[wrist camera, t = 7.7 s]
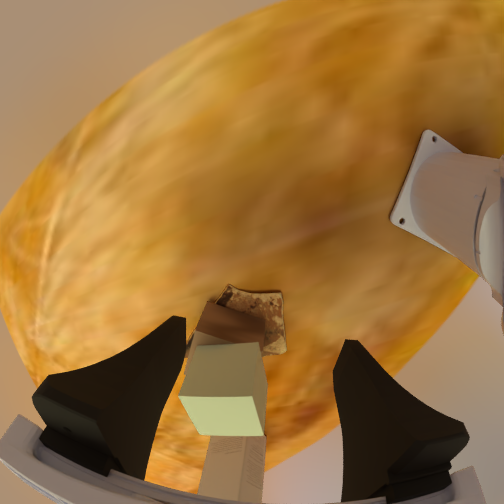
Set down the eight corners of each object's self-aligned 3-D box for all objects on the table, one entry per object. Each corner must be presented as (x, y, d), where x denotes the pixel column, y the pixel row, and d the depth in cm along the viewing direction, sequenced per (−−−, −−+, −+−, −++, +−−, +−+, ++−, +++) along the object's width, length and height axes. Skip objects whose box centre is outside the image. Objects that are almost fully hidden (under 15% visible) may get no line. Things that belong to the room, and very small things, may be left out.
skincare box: (230, 444, 32) (217, 519, 21) (209, 429, 31) (191, 508, 20) (269, 435, 30) (262, 517, 19) (249, 419, 29) (237, 508, 18)
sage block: (258, 342, 19) (252, 396, 14) (267, 384, 21) (263, 435, 16) (197, 345, 20) (178, 395, 15) (212, 386, 21) (199, 434, 17)
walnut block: (265, 320, 23) (263, 351, 19) (247, 360, 25) (242, 392, 21) (207, 301, 23) (195, 330, 19) (195, 344, 25) (183, 374, 21)
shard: (180, 348, 27) (174, 360, 26) (159, 282, 25) (152, 291, 23) (287, 346, 26) (287, 358, 24) (281, 274, 23) (281, 284, 22)
